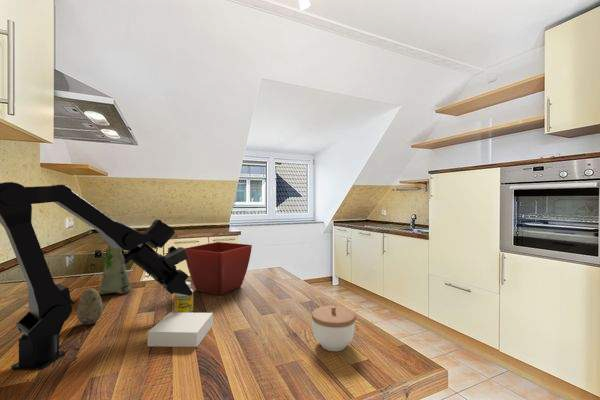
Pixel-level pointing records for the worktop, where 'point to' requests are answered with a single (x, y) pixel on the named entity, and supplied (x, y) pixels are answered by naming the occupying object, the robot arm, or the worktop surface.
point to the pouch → (114, 273)
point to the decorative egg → (89, 307)
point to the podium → (180, 329)
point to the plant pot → (218, 266)
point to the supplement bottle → (183, 302)
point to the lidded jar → (333, 327)
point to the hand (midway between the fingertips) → (188, 292)
